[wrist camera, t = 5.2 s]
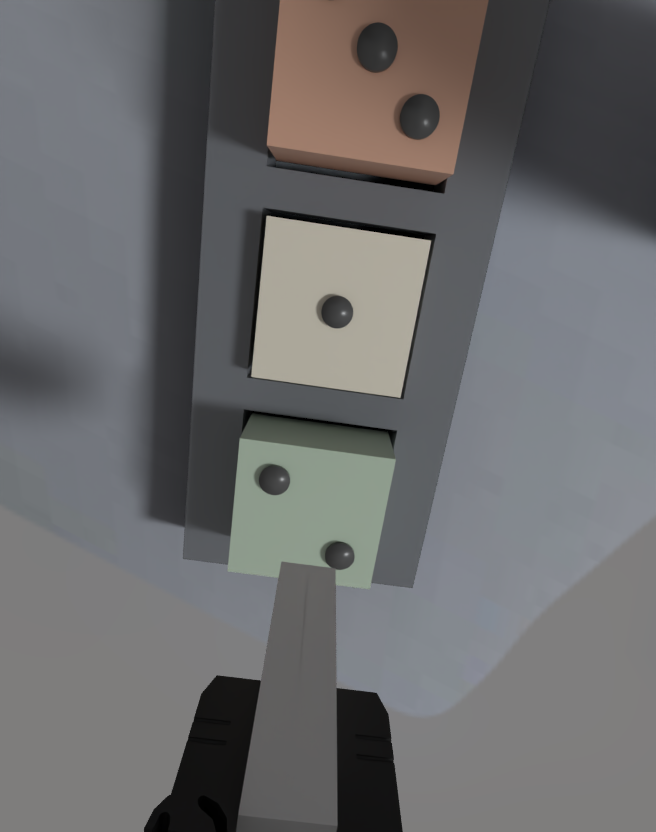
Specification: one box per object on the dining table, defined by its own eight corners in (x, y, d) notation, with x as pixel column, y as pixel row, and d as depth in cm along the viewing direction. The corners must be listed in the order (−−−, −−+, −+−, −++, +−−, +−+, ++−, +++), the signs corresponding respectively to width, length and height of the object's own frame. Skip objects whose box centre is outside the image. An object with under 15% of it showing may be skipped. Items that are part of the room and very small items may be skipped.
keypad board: (236, -70, 18) (222, -118, 16) (534, -19, 18) (563, -59, 16) (196, 530, 26) (182, 558, 24) (405, 557, 26) (412, 588, 24)
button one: (275, 220, 21) (265, 215, 18) (418, 241, 21) (432, 240, 18) (261, 360, 23) (250, 378, 20) (392, 379, 23) (401, 399, 20)
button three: (296, -38, 17) (288, -100, 14) (472, -8, 17) (502, -63, 14) (276, 160, 19) (266, 143, 16) (435, 185, 19) (455, 173, 16)
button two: (252, 413, 22) (238, 440, 19) (387, 432, 22) (396, 461, 19) (240, 532, 24) (226, 574, 21) (365, 548, 24) (370, 592, 21)
